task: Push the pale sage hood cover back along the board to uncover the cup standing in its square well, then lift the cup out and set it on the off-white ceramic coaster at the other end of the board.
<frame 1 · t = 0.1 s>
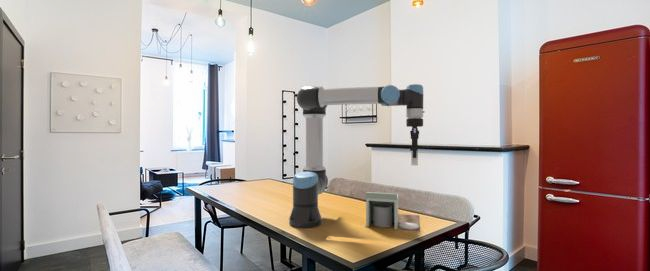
hand: (414, 163, 149), 28 cm above the table, fingers open, 13 cm apart
cup: (382, 228, 143), resting in board
board: (393, 223, 149), on the table
hood: (382, 207, 143), point 9 cm above the table, slide at 0.0 cm
coaster: (409, 226, 140), resting on board
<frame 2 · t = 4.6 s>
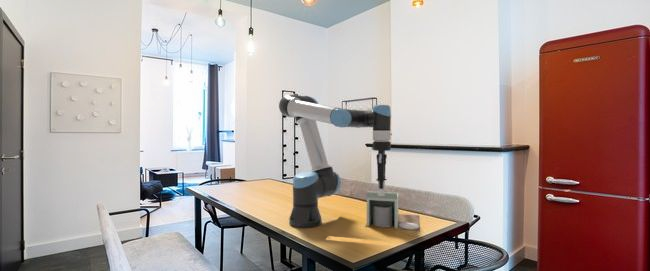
hand: (381, 195, 137), 15 cm above the table, fingers closed
hood: (383, 206, 144), point 9 cm above the table, slide at 1.4 cm, touching gripper
everything else where it was.
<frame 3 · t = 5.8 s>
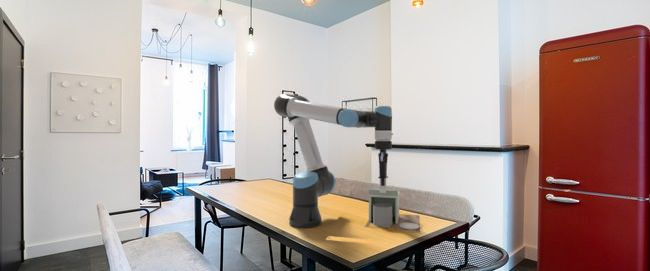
hand: (383, 192, 144), 15 cm above the table, fingers closed
hood: (384, 203, 151), point 9 cm above the table, slide at 8.4 cm, touching gripper
everything else where it was.
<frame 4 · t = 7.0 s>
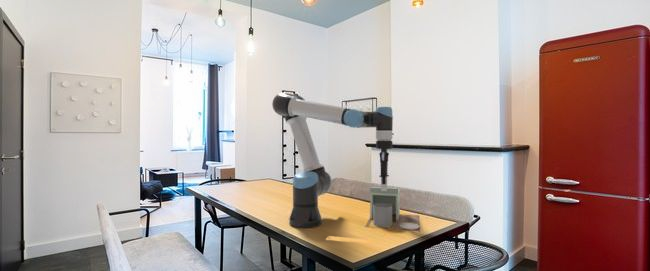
hand: (384, 190, 149), 15 cm above the table, fingers closed
hood: (385, 201, 155), point 9 cm above the table, slide at 13.1 cm, touching gripper
everything else where it was.
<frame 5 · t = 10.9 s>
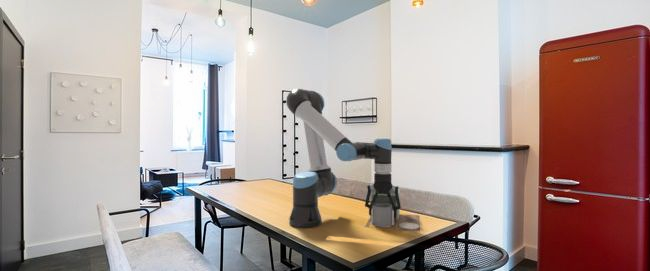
hand: (382, 223, 143), 2 cm above the table, fingers closed on cup, 8 cm apart
cup: (382, 228, 143), resting in board, touching gripper
hood: (385, 201, 156), point 9 cm above the table, slide at 13.4 cm
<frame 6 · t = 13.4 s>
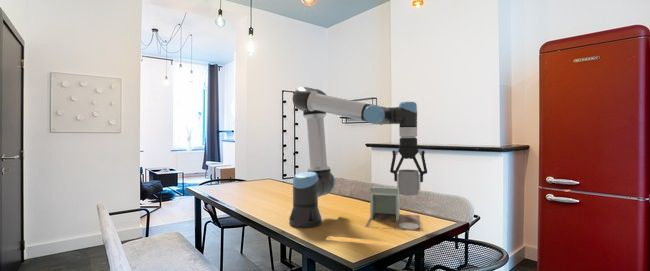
hand: (408, 189, 140), 18 cm above the table, fingers closed on cup, 8 cm apart
cup: (408, 193, 140), point 16 cm above the table, touching gripper
everything else where it was.
when the fingers open (5 cm above the table, at t = 16.2 s): cup drops 1 cm, resting on coaster.
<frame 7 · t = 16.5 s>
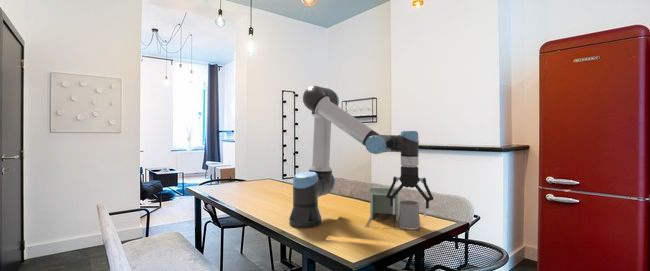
hand: (409, 214, 140), 7 cm above the table, fingers open, 12 cm apart
cup: (409, 225, 140), point 2 cm above the table, touching coaster
everything else where it was.
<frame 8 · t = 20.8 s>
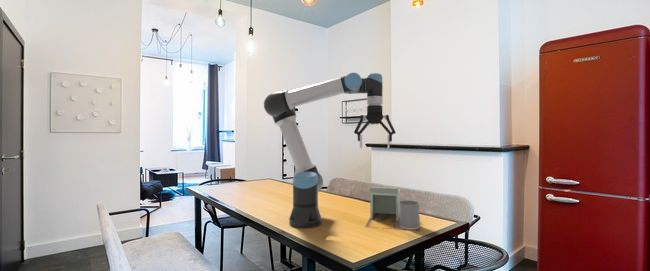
hand: (374, 148, 158), 35 cm above the table, fingers open, 13 cm apart
nothing on the table moved.
at the end: hood slide at 13.4 cm; cup 0.1 cm from the coaster (horizontally); cup tilted 0° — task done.
